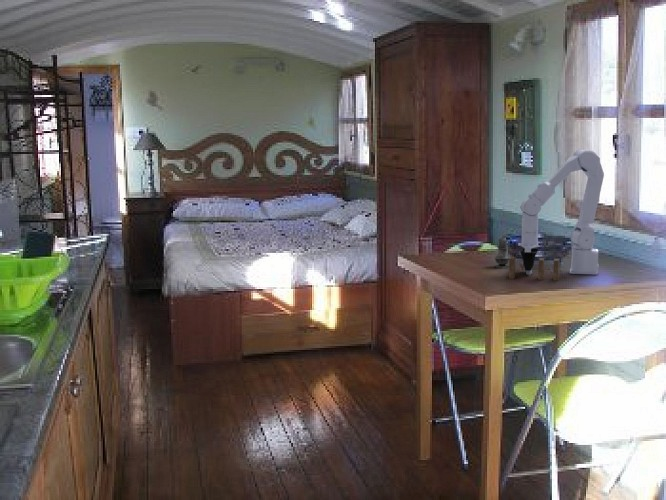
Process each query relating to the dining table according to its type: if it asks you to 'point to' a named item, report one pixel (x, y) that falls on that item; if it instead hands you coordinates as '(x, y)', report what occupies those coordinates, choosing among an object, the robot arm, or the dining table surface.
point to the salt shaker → (502, 254)
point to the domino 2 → (528, 272)
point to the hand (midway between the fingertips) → (529, 268)
